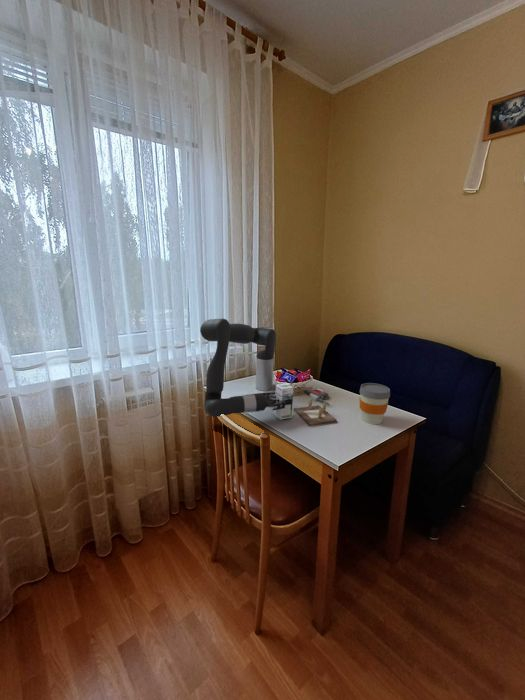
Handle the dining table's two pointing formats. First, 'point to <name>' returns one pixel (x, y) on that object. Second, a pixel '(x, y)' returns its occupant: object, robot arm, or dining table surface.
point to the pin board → (315, 414)
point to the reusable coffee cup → (373, 402)
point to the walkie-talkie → (317, 394)
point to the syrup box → (284, 394)
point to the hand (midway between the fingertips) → (289, 398)
